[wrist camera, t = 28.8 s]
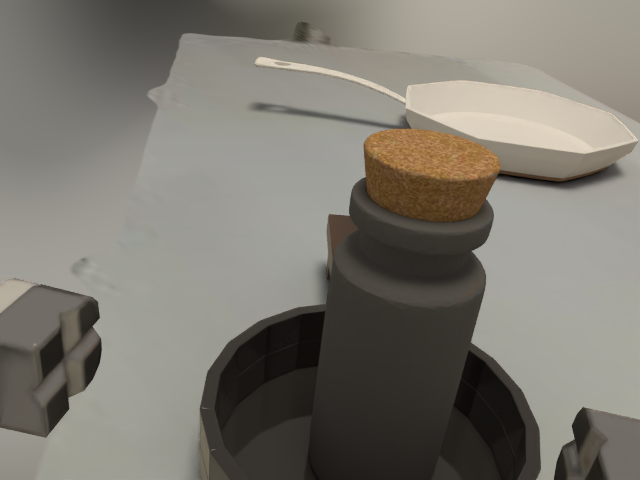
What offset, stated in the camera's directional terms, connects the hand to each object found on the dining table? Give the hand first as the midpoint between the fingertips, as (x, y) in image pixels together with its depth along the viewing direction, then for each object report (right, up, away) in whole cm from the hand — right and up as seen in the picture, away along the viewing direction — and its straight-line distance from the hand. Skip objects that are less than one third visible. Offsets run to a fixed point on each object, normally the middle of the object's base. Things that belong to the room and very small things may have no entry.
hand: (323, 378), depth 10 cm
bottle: (+2, -8, +18) cm, 20 cm away
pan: (+13, +15, +64) cm, 67 cm away
